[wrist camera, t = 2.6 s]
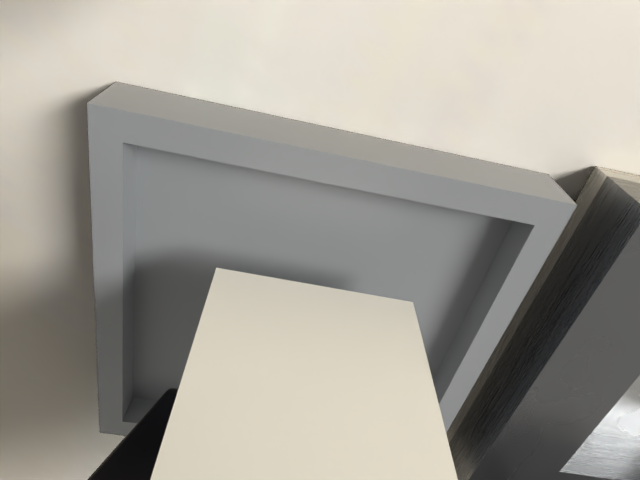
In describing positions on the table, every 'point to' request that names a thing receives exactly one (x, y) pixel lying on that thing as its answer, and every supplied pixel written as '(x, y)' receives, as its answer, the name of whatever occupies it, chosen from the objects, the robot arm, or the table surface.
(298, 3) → the table surface
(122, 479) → the robot arm
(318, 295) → the plug
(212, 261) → the tray
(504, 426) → the board
